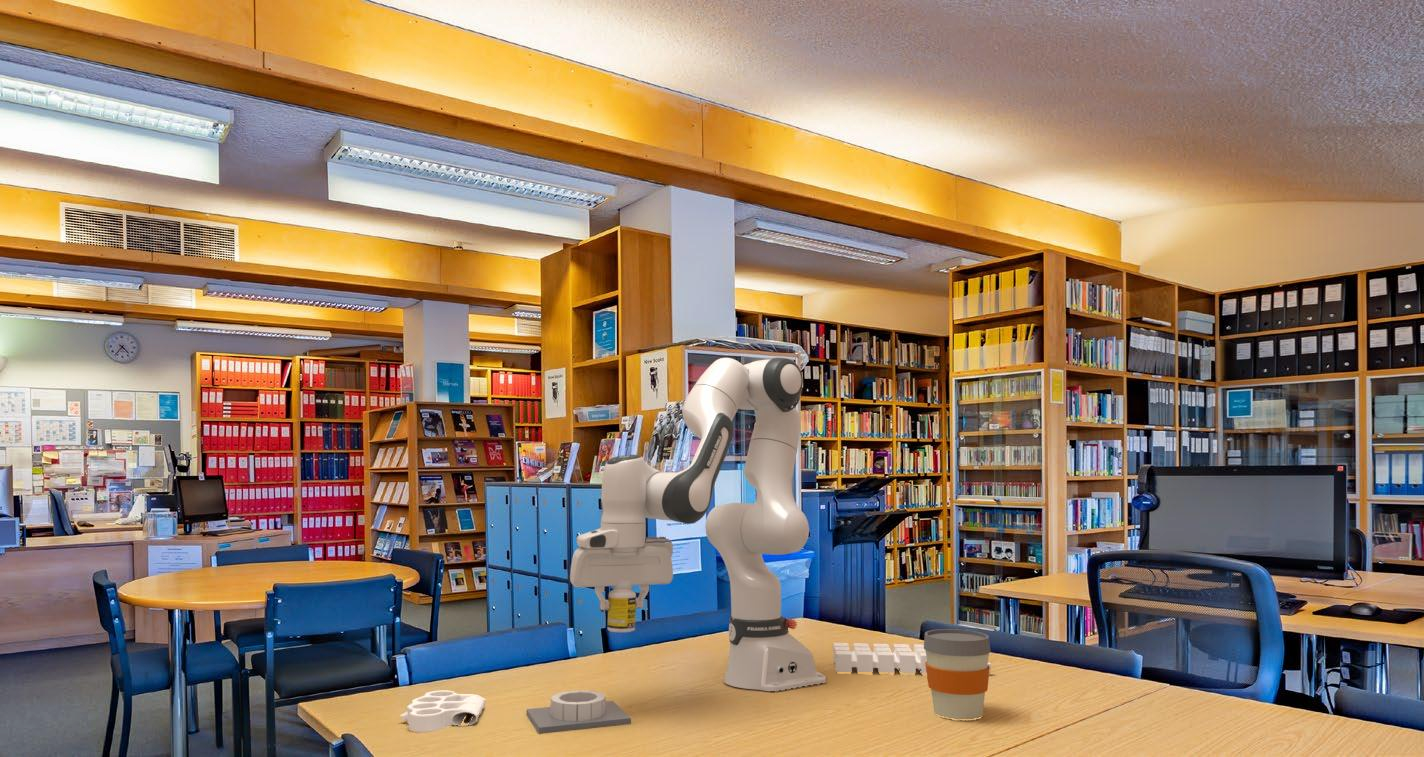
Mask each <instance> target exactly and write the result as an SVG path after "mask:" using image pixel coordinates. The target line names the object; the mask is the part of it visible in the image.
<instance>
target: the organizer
mask: <svg viewBox="0 0 1424 757" xmlns="http://www.w3.org/2000/svg"><path fill="white" fill-rule="evenodd" d="M832 645H833V646H832V647H833V649H832V650H833V664H834V663H835V665H834V669H835V668H836V669H835V673H836V672H852V673H853V668H855V667H856V668H855V670H856V669H857V671H856V673H857V672H873V673H874V669H876V668H877V669H878V672H888V673H890V672H894V673H895V669H897V668H898V669H899V671H900V672H903V673H916V674H917V670H918V669H920V671H921V673H927V672H926V665H925V663H926V662H927V657H926V650H925V649H924V643H923V644H919V643H918V644H917V643H916V644H915V643H914V644H913V645H912V646H913V647H912V648H913V650H912V649H911V647H910V645H909V644H908V643H902V644H901V643H893V644H892V645H893V648H892V649H891V648H890V646H889V644H888V643H873V644H872V645H873V646H872V647H873V648H872V650H873V651H872V650H871V648H870V645H869V643H866V642H863V643H859V642H857V643H856V642H854V643H853V644H852V645H853V647H852V648H853V649H852V651H851V648H850V646H849V643H848V642H833V644H832ZM988 665H989V667H990V670H989V671H991V670H992V663H991V662H988ZM877 669H876V670H877ZM916 669H917V670H916ZM878 672H877V673H878Z"/></svg>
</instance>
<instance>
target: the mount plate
mask: <svg viewBox="0 0 1424 757" xmlns="http://www.w3.org/2000/svg"><path fill="white" fill-rule="evenodd" d="M526 716H527V717H528V718H529V721H531V723H532V725H533V726H534V728H535V729H536V731H537V733H538V734H546V733H547V734H549V733H557V732H565V731H566V732H567V731H574V730H575V731H576V730H584V729H593V728H594V729H595V728H603V727H611V726H613V727H614V726H624V725H629V724H632V717H631V716H630V715H629V714H627V713H626V712H625V710H623V709H622V708H621V707H620V706H619V705H618V704H617V703H616V702H615V701H614V700H606V695H605V694H604V693H602V692H599V691H595V690H593V691H592V690H585V689H584V690H583V689H582V690H569V691H568V690H567V691H563V692H559V693H556V694H553V695H552V696H551V697H550V706H543V707H537V708H536V707H534V708H526Z"/></svg>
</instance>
